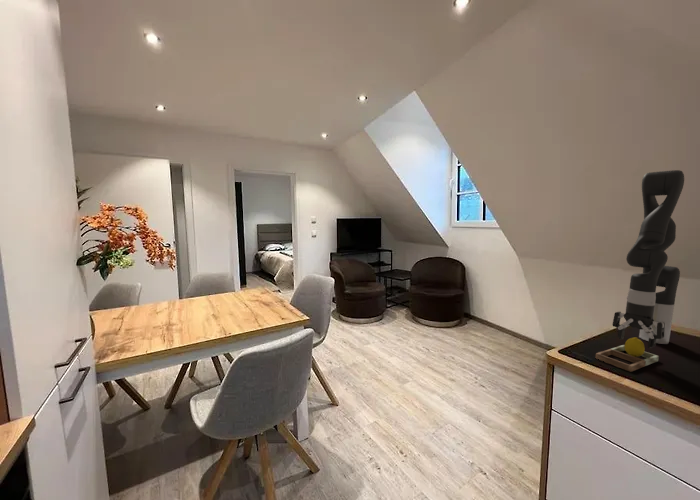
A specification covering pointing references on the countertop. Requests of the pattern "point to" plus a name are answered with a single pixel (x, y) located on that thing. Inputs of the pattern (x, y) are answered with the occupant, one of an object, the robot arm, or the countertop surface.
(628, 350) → the lemon
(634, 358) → the frame
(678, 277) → the robot arm
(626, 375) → the countertop surface
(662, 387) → the countertop surface
